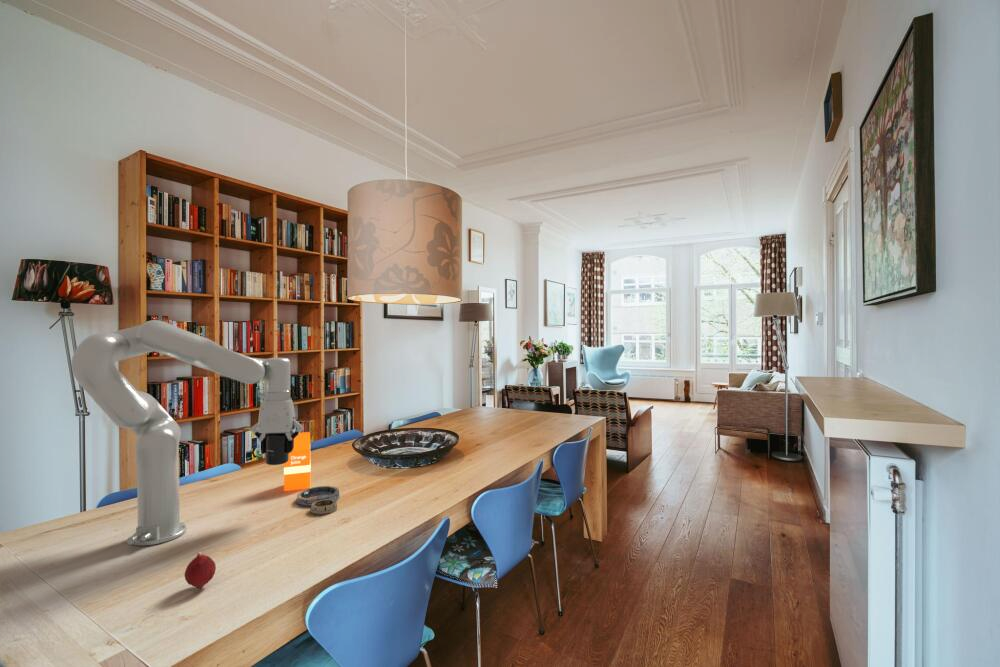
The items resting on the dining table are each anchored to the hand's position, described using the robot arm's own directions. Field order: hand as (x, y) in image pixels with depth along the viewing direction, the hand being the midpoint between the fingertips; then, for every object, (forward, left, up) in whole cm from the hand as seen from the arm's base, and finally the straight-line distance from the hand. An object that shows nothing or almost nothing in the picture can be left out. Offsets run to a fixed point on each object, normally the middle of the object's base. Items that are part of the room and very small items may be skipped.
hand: (277, 451), depth 144 cm
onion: (-42, 0, -20) cm, 46 cm away
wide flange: (+11, -9, -19) cm, 24 cm away
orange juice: (+25, +3, -20) cm, 32 cm away
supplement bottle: (0, 0, -4) cm, 4 cm away
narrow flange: (+1, -14, -19) cm, 24 cm away
